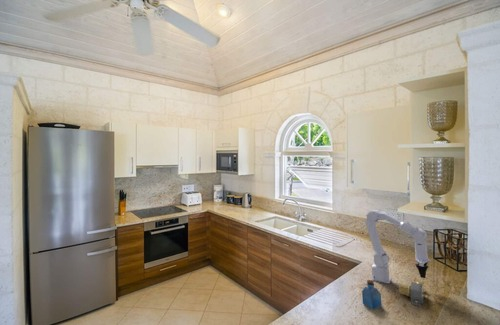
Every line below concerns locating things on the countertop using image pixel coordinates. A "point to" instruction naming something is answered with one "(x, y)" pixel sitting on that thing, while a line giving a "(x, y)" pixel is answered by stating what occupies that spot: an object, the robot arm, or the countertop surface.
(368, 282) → the perfume bottle
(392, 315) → the countertop surface
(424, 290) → the cover
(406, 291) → the end cover
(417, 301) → the pillow block
